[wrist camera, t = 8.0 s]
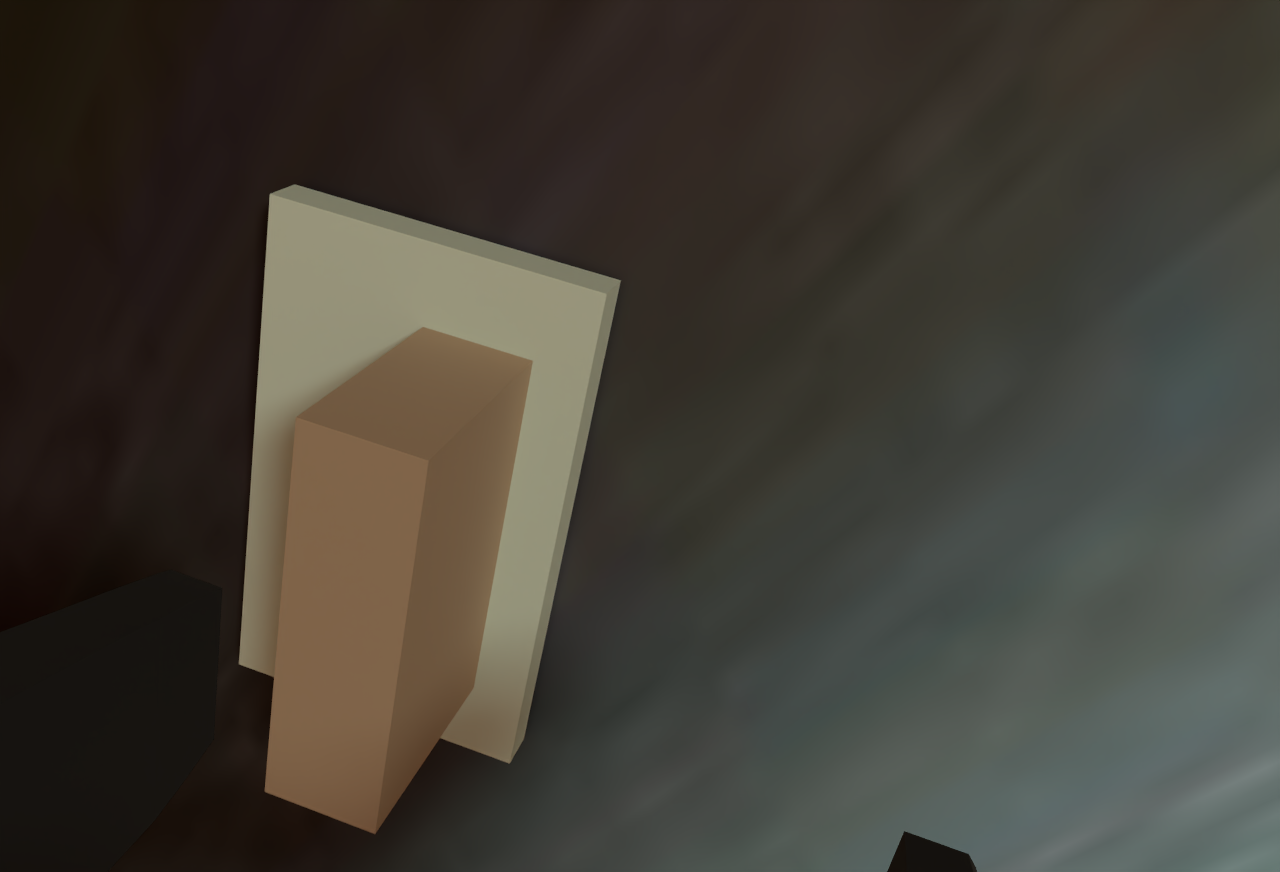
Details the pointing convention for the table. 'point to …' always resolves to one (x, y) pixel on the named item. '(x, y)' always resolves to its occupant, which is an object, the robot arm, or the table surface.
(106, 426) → the table surface
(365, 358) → the stub
